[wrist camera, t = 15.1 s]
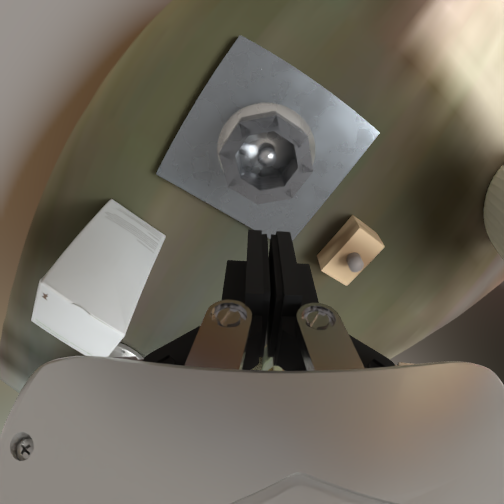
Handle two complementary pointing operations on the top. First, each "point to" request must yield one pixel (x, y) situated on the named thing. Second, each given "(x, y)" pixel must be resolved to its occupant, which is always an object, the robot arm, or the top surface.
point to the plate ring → (273, 185)
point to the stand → (349, 251)
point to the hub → (265, 138)
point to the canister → (495, 211)
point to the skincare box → (98, 281)
